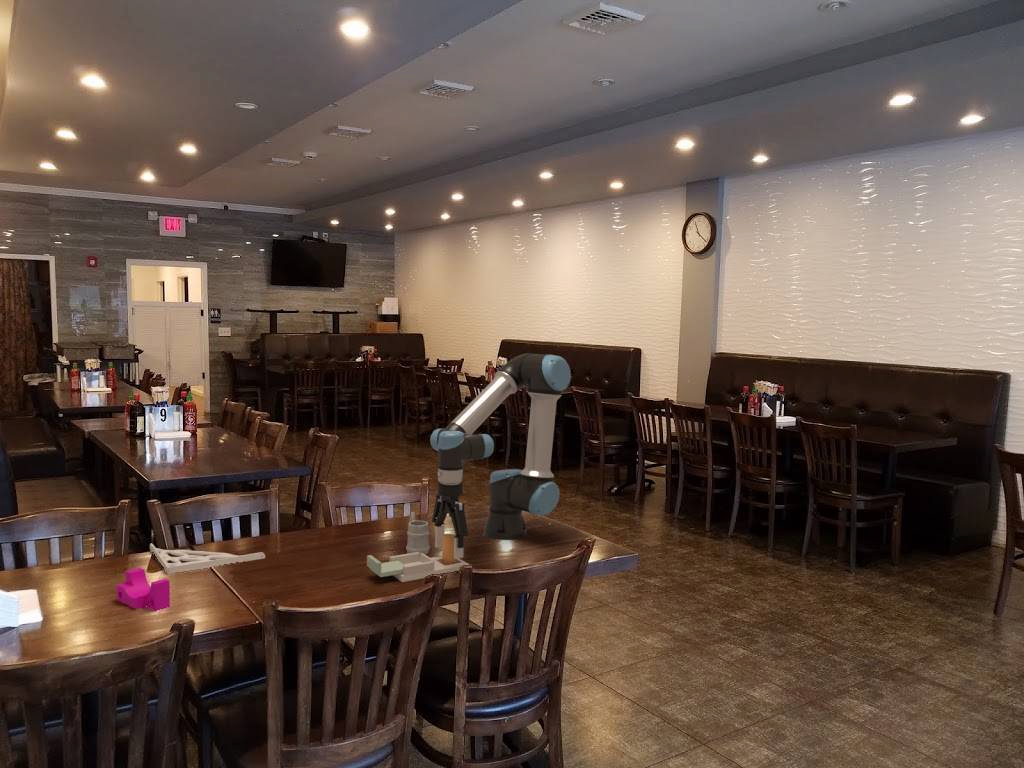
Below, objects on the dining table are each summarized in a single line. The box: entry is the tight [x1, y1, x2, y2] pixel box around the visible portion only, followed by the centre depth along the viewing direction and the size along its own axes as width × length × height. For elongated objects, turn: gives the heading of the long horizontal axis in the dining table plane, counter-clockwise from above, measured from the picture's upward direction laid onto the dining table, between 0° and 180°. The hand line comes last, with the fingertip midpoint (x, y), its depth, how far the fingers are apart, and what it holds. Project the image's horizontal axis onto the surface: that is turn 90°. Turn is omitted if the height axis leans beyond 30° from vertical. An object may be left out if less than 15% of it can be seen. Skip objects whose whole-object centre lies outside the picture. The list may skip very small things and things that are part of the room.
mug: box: [405, 511, 431, 556], centre depth 245 cm, size 8×12×12 cm, turn 27°
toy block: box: [115, 567, 171, 612], centre depth 196 cm, size 15×6×8 cm, turn 54°
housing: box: [388, 552, 470, 583], centre depth 226 cm, size 22×11×4 cm, turn 123°
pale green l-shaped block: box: [366, 554, 405, 578], centre depth 219 cm, size 10×8×4 cm
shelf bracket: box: [149, 543, 266, 573], centre depth 238 cm, size 28×28×3 cm
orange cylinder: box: [441, 533, 456, 565], centre depth 230 cm, size 4×4×10 cm
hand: (449, 552), depth 230 cm, fingers open, 11 cm apart
